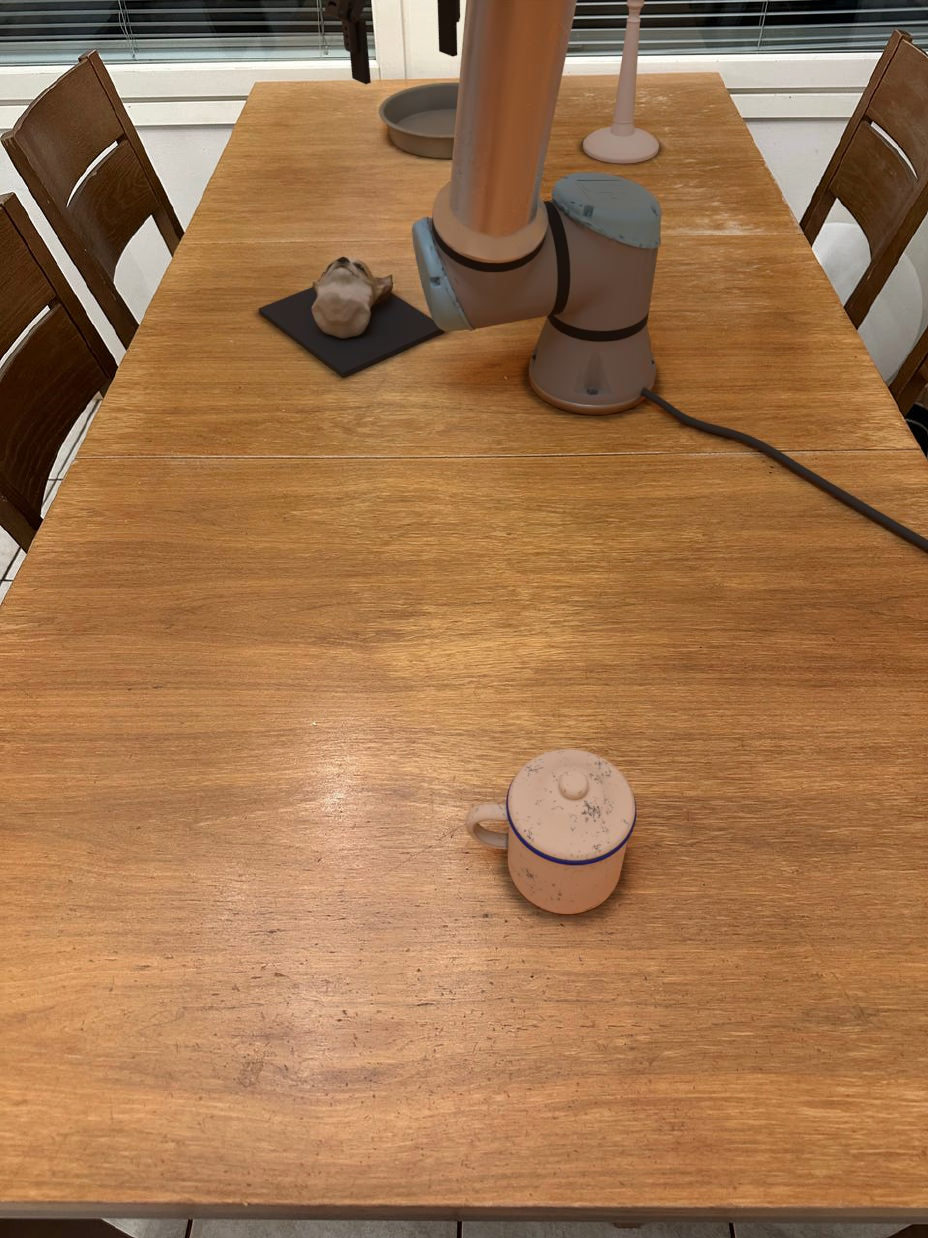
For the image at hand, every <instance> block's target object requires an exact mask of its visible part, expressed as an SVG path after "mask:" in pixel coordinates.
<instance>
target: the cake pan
mask: <svg viewBox="0 0 928 1238" xmlns="http://www.w3.org/2000/svg"><path fill="white" fill-rule="evenodd" d="M458 90H459V82H437V83H436V82H434V83H428V84H421V85H417V86H411V87H409V88H406V89H405V88H404V89H402V90H400V91H398V92H395V93H393V94H392V95H390V96H388V97H387V98H385V99H384V100H383V101H382V103H381V104H380V105H379V108H378V115H379V118H380V120H381V121H382V122H383V123H384V124H385V125H386V128H387V131H388V135H389V137H390V140H391V142H392V143H393V144H394V146H396V147H397V148H399V149H400V150H402V151H404V152H407V153H409V154H412V155H416V156H418V157H419V156H420V157H424V158H433V159H453V148H454V136H455V124H456V113H457V101H458Z"/></svg>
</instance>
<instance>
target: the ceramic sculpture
mask: <svg viewBox="0 0 928 1238" xmlns="http://www.w3.org/2000/svg"><path fill="white" fill-rule="evenodd" d="M311 287H313V289H314V291H315V292H316V293H317V299H316V301H315V302H314V304H313V306H312V314H313V316H314V319H315V321H316V323H317V325H318V326H319V328H320V329H321V330H322V331H323V332H325V333H327V334H329V335H333V336H335V337H338V338H349V337H352V336H358V335H360V334H361V333H363V332H364V330H365V329H366V327H367V325H368V323H369V319H370V315H371V312H370V308H371V306H372V305H375V304H377V303H379V302H381V301H383V300H385V299H386V298H387V297H388V296H389V295H390V293H391V292H392V293H393V288H394V282H393V274H389V275H386V276H384V277H380V276H379V277H378V276H375V277H374V275H373V273H372V271H371V268H369V266H368V265H367V263H365V262H364V261H362V260H360V259H359V258H349V257H346V256H341V257H339V258H337V259H334V260H332V262H330V263H329V264H328V265H327V267H326V268H325V271H323V272H322V273H321V275H320V277H319V279H318V280H316V281H313V282H312V285H311Z"/></svg>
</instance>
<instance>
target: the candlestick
mask: <svg viewBox="0 0 928 1238" xmlns="http://www.w3.org/2000/svg"><path fill="white" fill-rule="evenodd" d="M644 5H645V0H627V1H626V6H627V7H628V17H627V18H626V27H625V34H624V42H623V48H622V54H621V55H622V56H621V61H620V69H619V75H618V76H619V77H618V82H617V83H618V84H617V90H616V98H615V102H614V103H615V104H614V111H613V117H612V123H611V125H610V126H606V127H602V128H598V129H597V130H594V131H592V132H591V133H589V134H588V135H587V136H586V137H585V138H584V140H583V142H582V149H583V151H584V153H585V154H586V155H587V156H589V157H591V158H593V159H595V160H598V161H600V162H605V163H609V164H610V163H611V164H635V163H636V164H637V163H641V162H644V161H647V160H650V159H652V158H654V157H655V156H656V155H658V153H659V149H660V143H659V141H658V139H656V137H654V135H652V133H650V132H648V131H646V130H644V129H641V128H640V127H639V128H638V127H635V122H634V121H635V107H636V93H637V92H636V91H637V77H638V76H637V75H638V57H639V42H640V26H641V17H640V13H641V10H642V8H643V7H644Z"/></svg>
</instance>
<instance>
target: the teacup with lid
mask: <svg viewBox="0 0 928 1238" xmlns="http://www.w3.org/2000/svg"><path fill="white" fill-rule="evenodd" d="M635 797H636V796H635V794H634V792H633V789H632V787H631V785H630V783H629V782H628V780H627V778H626V777H625V775H624V774H623V773H622V772H621V770H619V769H618V767H616V766H615V765H614V764H613V763H611V762H610V761H609V760H607V759H605V758H604V757H602V756H600V755H598V754H595V753H593V752H590V751H586V750H583V749H577V748H576V749H575V748H560V749H554V750H550V751H546V752H544V753H541V754H539V755H537V756H535V757H534V758H531V759H530V760H528V761H527V762H526V763H525V764H524V765H522V766H521V768H520V769H519V770H518V771H517V773H516V774H515V775H514V777H513V778H512V780H511V782H510V783H509V787H508V790H507V794H506V798H505V799H506V800H505V803H483V804H479V805H476V806H474V807H472V808H471V809H470V810H468V812H467V814H466V818H465V830H466V832H467V833H468V836H469V837H471V838H472V840H474V841H475V842H476V843H478V844H479V845H482V846H485V847H487V848H492V849H497V850H507V867H508V871H509V875H510V877H511V880H512V881H513V883H514V885H515V887H516V889H517V890H518V891H519V892H520V893H521V894H522V896H524V898H525V899H526V900H528V901H529V902H530V903H531V904H533V905H535V906H537V907H538V908H540V909H541V910H545V911H548V912H551V913H555V914H561V915H573V914H579V913H584V912H587V911H589V910H592V909H594V908H596V907H598V906H600V905H601V904H602V903H604V902H605V901H606V900H607V899H608V898H609V897H610V896H611V895H612V893H613V892H614V890H615V889H616V887H617V885H618V882H619V880H620V877H621V876H620V875H621V874H622V873H621V872H622V868H623V863H624V859H625V854H626V850H627V846H628V841H629V839H630V838H631V835H632V833H633V831H634V828H635V826H636V821H637V802H636V798H635ZM487 821H498V822H508V832H507V833H506V832H498V831H493V830H489V829H487V828H485V827H483V826H482V825H481V824H480V823H482V822H487Z"/></svg>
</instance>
